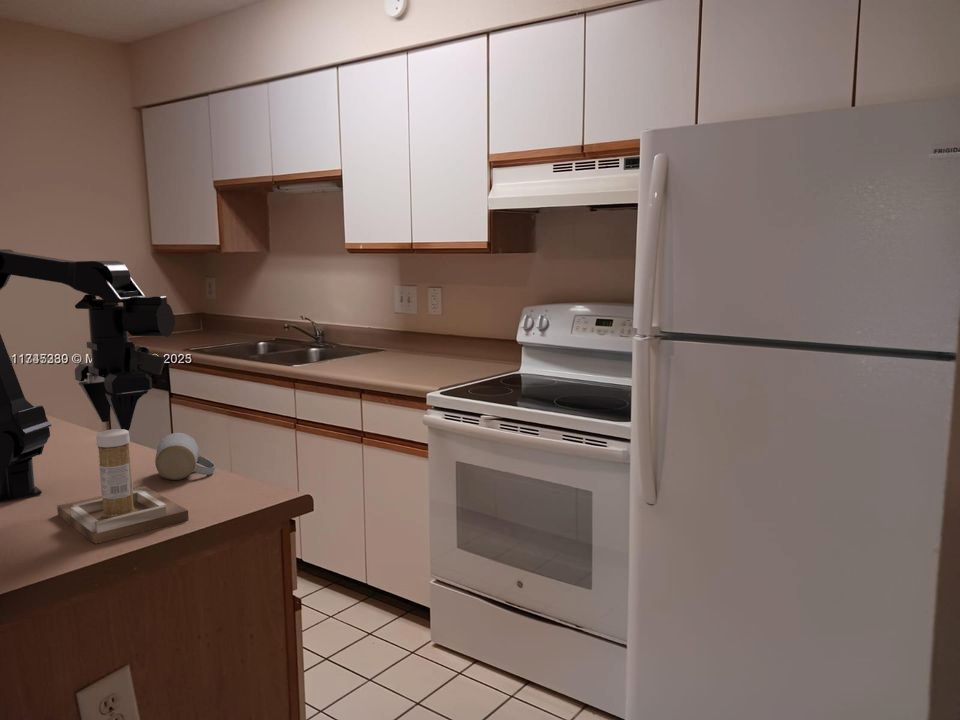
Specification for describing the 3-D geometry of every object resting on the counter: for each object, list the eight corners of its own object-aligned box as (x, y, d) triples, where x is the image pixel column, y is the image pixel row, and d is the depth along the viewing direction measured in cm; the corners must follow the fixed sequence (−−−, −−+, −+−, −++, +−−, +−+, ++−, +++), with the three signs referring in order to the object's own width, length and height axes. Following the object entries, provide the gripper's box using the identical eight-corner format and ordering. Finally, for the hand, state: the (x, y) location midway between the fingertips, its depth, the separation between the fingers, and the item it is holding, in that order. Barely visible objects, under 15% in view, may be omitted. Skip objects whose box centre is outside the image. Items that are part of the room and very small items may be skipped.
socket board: (57, 514, 117) (56, 496, 116) (145, 494, 127) (144, 478, 126) (95, 544, 105) (93, 524, 105) (188, 519, 115) (187, 501, 115)
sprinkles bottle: (137, 508, 115) (131, 427, 113) (132, 518, 111) (126, 434, 109) (105, 511, 114) (99, 429, 112) (99, 521, 110) (92, 436, 108)
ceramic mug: (155, 484, 133) (153, 443, 132) (157, 471, 140) (156, 433, 139) (215, 479, 137) (214, 440, 135) (215, 467, 144) (214, 430, 143)
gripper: (181, 336, 120) (185, 427, 122) (136, 328, 132) (141, 410, 135) (110, 342, 112) (116, 439, 114) (70, 332, 124) (77, 420, 127)
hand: (115, 426), depth 123 cm, fingers open, 9 cm apart
